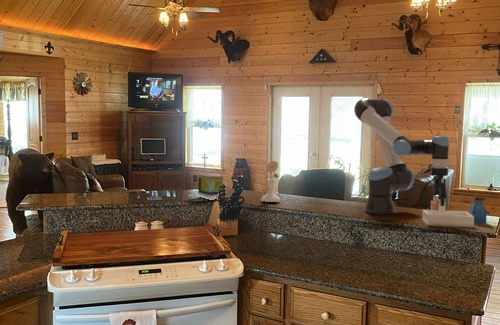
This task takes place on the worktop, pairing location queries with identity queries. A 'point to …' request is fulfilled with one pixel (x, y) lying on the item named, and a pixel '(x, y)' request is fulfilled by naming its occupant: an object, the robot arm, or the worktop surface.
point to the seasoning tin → (435, 206)
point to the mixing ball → (436, 198)
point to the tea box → (209, 184)
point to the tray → (448, 218)
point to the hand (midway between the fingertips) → (438, 210)
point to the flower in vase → (271, 183)
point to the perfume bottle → (478, 211)
